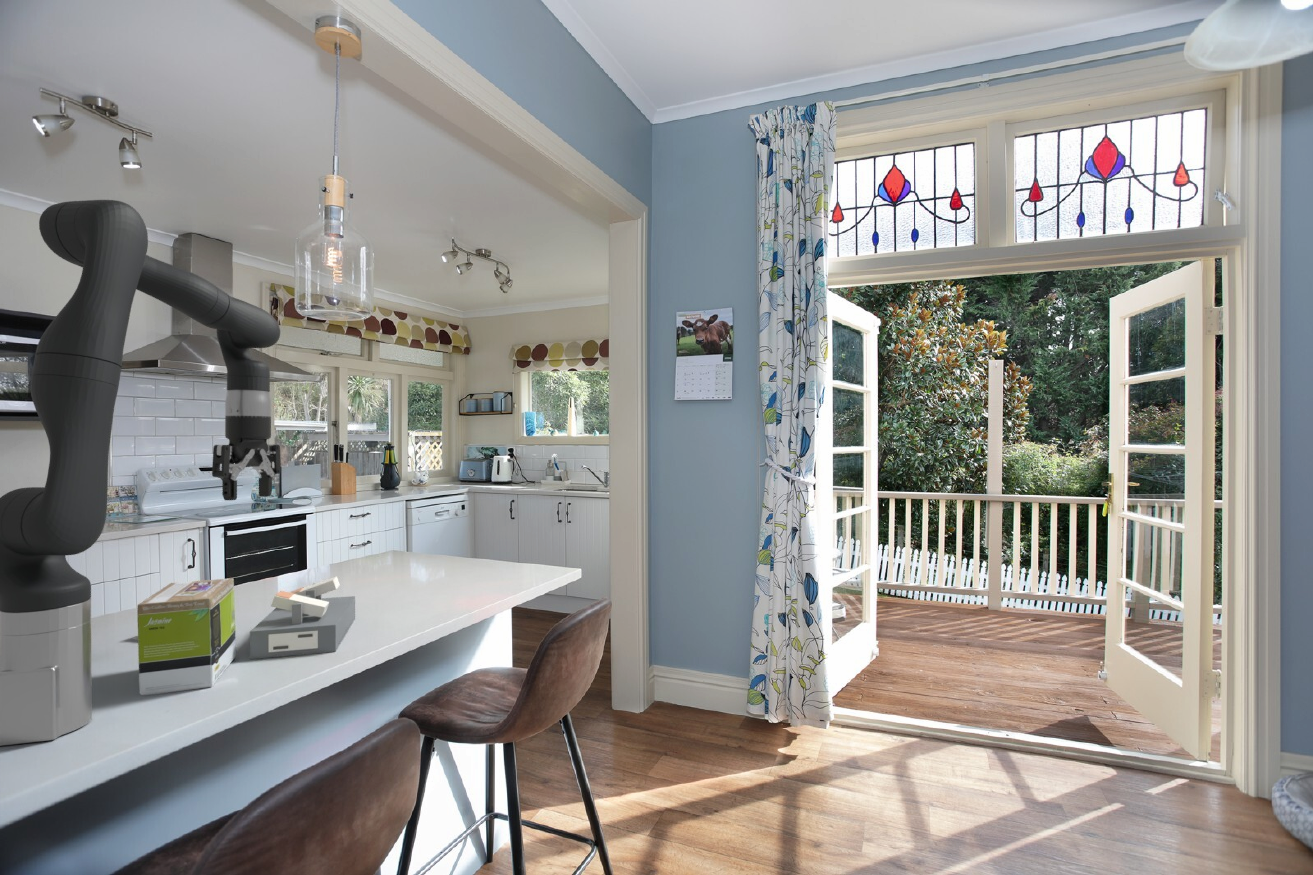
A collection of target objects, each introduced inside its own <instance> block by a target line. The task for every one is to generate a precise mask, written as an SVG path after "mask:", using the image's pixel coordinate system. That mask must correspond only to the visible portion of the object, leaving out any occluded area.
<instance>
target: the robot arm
mask: <svg viewBox="0 0 1313 875" xmlns="http://www.w3.org/2000/svg"><path fill="white" fill-rule="evenodd" d="M38 225H39V232H40V236H41V237H42V240H43V241H44V244H46V246H47V247H48V248H49V249H50V250H51V252H53V253H54V254H55V255H57V256H58V257H59V258H61V259H62V260H64V261H67V262H68V263H71V264H73V265H76V266H78V267H80V268H82V270H81V276H80V279H79V282H78V284H77V286H76V289H75V290H74V292H73V295H72V296H71V297H70V298H69V300H68V301H67V302H66V304H65V305H64V307H62V309H61V310H60V311H59V312H58V313H57V315H56V316H55V317H54V319H53V320H52V321H51V322H50V323H49V325H48V326H47V327H46V329H45V331H44V332H43V334H42V335H41V337H40V339H39V340H38V344H37V347H36V349H35V353H34V354H35V356H34V359H33V360H34V361H33V365H32V370H31V371H32V372H31V378H30V395H31V399H32V402H33V405H34V406H33V407H34V408H35V410H36V413H37V415H38V419H39V421H40V423H41V425H42V427H43V428H44V431H45V433H46V438H47V440H48V445H49V463H48V470H47V477H46V481H45V485H44V487H43V486H42V487H41V486H38V487H37V486H33V487H32V486H31V487H29V486H28V487H21V488H17V489H13V490H11V491H9V492H6V493H5V494H3V495H1V496H0V746H9V745H10V746H11V745H19V744H29V743H36V742H44V741H53V740H57V738H59V737H60V736H63V735H66V734H69V733H71V732H73V731H75V730H78V729H80V728H82V727H84V726H86V725H87V724H88V723H90V721H92V717H93V716H92V713H93V712H92V711H93V708H92V707H93V706H92V705H93V704H92V703H93V702H92V700H93V698H92V697H93V696H92V695H93V691H92V690H93V689H92V688H93V686H92V682H93V681H92V673H93V672H92V584H91V581H90V579H89V578H88V577H86V576H85V575H83V574H81V573H80V572H78V571H76V570H75V569H74V568H73V567H72V566H71V565H70V564H69V562H68V560H67V557H66V556H72V555H73V556H74V555H78V554H81V553H84V552H85V551H87V550H88V549H90V548H91V547H92V546H94V544H95V543H97V541H98V539H99V538H100V536H101V535H102V532H103V530H104V527H105V523H106V519H107V512H108V511H107V510H108V491H109V490H108V483H109V481H108V480H109V475H108V474H109V454H110V444H111V437H112V430H113V420H114V412H115V405H116V400H117V397H118V396H117V395H118V392H119V386H120V379H121V374H122V367H123V354H124V350H125V349H124V348H125V341H126V336H127V332H128V327H129V323H130V322H129V320H130V317H131V310H132V306H133V301H134V298H135V295H136V291H139V292H141V293H143V294H145V295H148V296H149V297H152V298H154V299H155V300H158V301H160V302H162V303H164V304H165V305H167V306H170V307H171V308H173V309H175V310H176V311H179V312H180V313H182V314H184V315H185V316H187V317H189V318H190V319H191V320H194V321H196V322H198V323H199V324H201V325H203V326H205V327H208V328H209V329H214V330H216V337H217V341H218V344H219V347H220V351H221V354H222V358H223V361H224V363H225V367H226V397H225V404H224V405H225V406H224V408H225V411H224V412H225V415H224V416H225V417H224V419H225V420H224V422H225V423H224V438H226V439H227V440H229V441H228V444H214V446H213V448H212V467H211V476H212V477H213V478H219V479H220V480H221V482H222V486H221V487H222V493H221V494H222V497H223V500H224V501H235V500H237V499H238V480H237V477H238V476H239V474H240V473H241V472H243V471H244V470H245V469H246V468H252V469H253V470H255V471H256V473H257V474H258V476H259V477H258V496H259V497H261V498H263V497H264V498H265V497H267V498H268V497H271V496H272V492H273V478H274V477H275V475H277V474H281V473H282V466H281V464H282V463H281V446H280V444H273V443H272V444H268V442H267V441H268V440H270V439H271V436H272V400H271V393H270V391H271V384H270V382H271V378H270V367H269V365H268V364H267V363H265V362H263V361H260V360H255V359H253V357H252V355H251V350H250V349H266V348H269V347H272V346H274V345H275V344H277V342H278V341H279V340H280V337H281V328H280V325H279V322H278V321H277V319H276V318H275V317H274V316H273V315H272V314H271V313H270V312H268V311H266V309H263V308H261V307H259V306H256V305H255V304H251V303H249V302H247V301H245V300H242V299H239V298H235V297H233V296H231V295H230V294H228V293H227V292H225V291H224V290H222V289H221V288H219V287H218V286H216V285H214V284H213V283H212V282H211V281H209V280H207V279H205V278H204V277H202V276H199V275H198V274H196V273H193V272H191V271H189V270H186V269H184V268H181V267H178V266H175V265H172V264H170V263H168V262H165V261H162V260H159V259H156V258H154V257H152V256H150V255H148V254H147V252H148V248H149V246H148V244H149V237H148V236H149V235H148V229H147V227H146V224H145V221H144V219H143V218H142V216H141V214H140V213H139V211H137V210H136V208H134V207H133V206H131V205H130V204H128V203H126V202H124V201H121V200H114V199H90V200H89V199H88V200H87V199H86V200H72V201H71V200H70V201H63V202H58V203H54V204H52V205H49V206H48V207H46V208H45V209H44V211H42V213H41V215H40V217H39V220H38ZM273 465H274V467H273Z"/></svg>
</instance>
